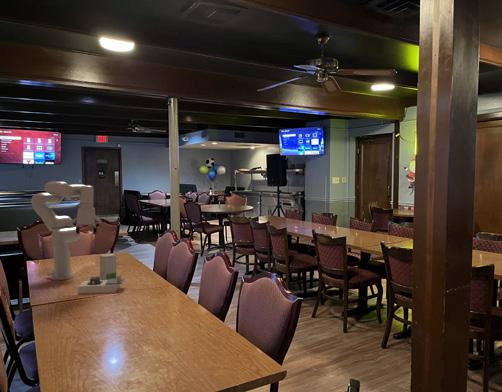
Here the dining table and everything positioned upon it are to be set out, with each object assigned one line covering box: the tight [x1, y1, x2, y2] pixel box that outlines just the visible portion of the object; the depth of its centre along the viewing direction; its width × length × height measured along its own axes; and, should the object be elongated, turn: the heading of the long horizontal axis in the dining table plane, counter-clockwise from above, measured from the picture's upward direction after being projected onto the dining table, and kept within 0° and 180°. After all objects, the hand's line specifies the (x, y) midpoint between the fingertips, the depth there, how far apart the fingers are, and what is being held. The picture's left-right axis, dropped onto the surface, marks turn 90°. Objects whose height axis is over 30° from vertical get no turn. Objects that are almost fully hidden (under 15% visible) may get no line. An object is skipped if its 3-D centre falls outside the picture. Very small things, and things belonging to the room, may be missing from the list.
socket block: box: [77, 280, 121, 295], centre depth 221 cm, size 20×12×4 cm, turn 99°
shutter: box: [105, 272, 126, 285], centre depth 222 cm, size 9×10×4 cm
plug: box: [89, 275, 100, 285], centre depth 221 cm, size 4×6×7 cm, turn 7°
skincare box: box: [99, 253, 118, 280], centre depth 243 cm, size 8×7×16 cm
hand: (86, 233), depth 234 cm, fingers open, 9 cm apart
